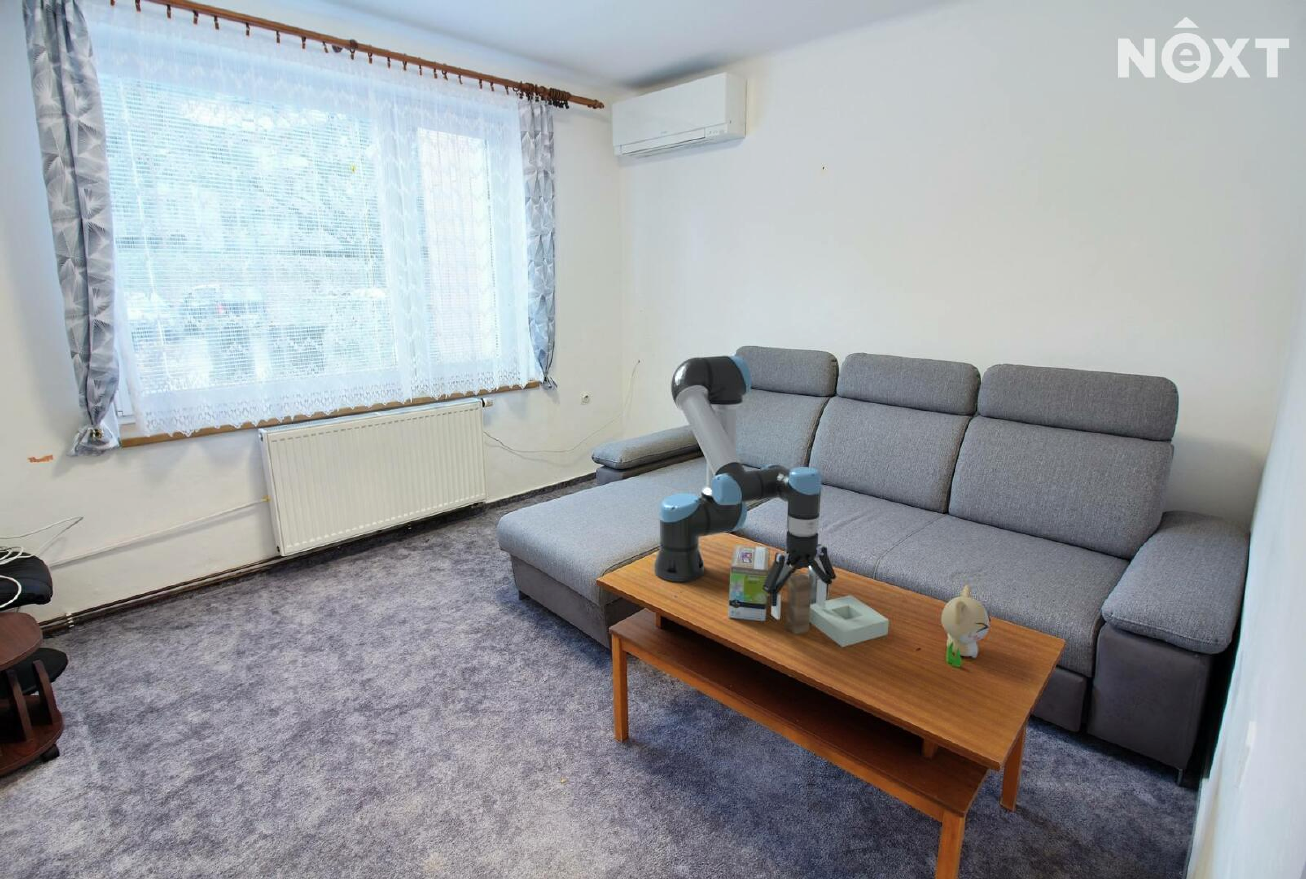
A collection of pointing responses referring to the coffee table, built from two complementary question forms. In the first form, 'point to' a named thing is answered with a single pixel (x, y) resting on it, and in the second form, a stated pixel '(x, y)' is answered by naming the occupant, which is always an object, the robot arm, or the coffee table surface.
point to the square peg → (798, 603)
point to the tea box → (748, 582)
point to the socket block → (848, 621)
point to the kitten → (964, 626)
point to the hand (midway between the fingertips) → (798, 611)
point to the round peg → (815, 581)
